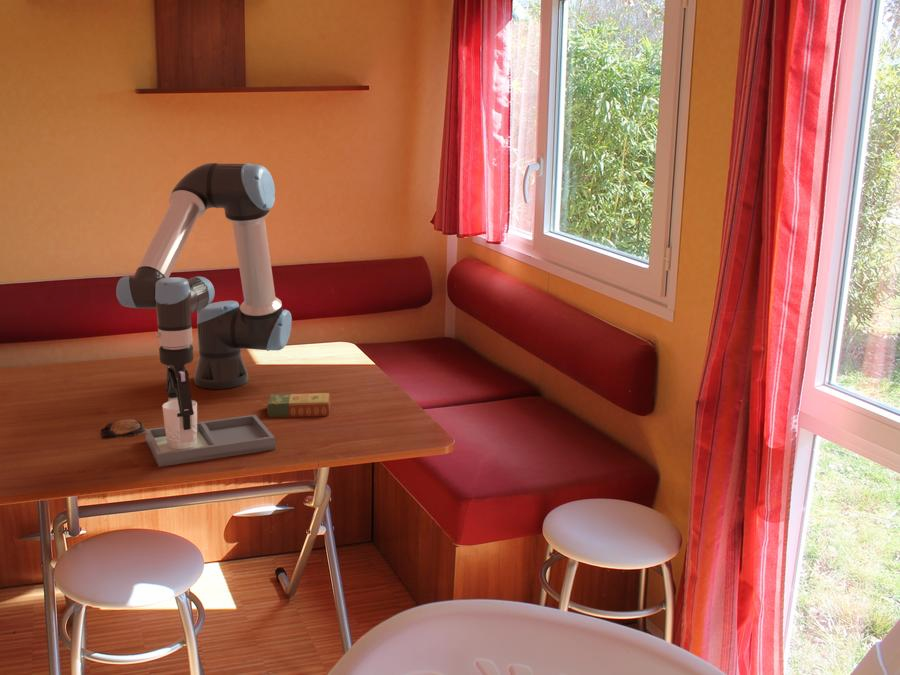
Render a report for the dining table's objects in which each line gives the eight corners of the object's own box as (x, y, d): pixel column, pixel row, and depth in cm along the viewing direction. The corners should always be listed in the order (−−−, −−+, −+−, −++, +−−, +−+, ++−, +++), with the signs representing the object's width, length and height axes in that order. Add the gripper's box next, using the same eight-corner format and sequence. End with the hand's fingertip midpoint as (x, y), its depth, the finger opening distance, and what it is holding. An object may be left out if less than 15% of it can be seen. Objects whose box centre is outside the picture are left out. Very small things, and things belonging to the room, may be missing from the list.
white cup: (170, 438, 238) (168, 398, 235) (203, 439, 238) (201, 399, 235) (160, 450, 230) (157, 409, 228) (194, 451, 230) (191, 410, 227)
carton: (329, 417, 258) (328, 401, 257) (267, 418, 257) (266, 403, 256) (330, 406, 266) (330, 391, 265) (270, 408, 265) (269, 392, 264)
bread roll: (143, 426, 251) (142, 412, 251) (148, 436, 244) (147, 422, 243) (99, 431, 247) (98, 417, 246) (103, 442, 240) (102, 427, 239)
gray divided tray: (145, 441, 239) (145, 429, 238) (255, 425, 250) (255, 414, 250) (158, 466, 223) (157, 454, 223) (275, 449, 235) (274, 437, 234)
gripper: (150, 334, 237) (156, 418, 242) (168, 360, 215) (174, 452, 221) (182, 331, 240) (187, 414, 245) (203, 357, 218) (208, 447, 224)
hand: (181, 432), depth 233 cm, fingers open, 13 cm apart
